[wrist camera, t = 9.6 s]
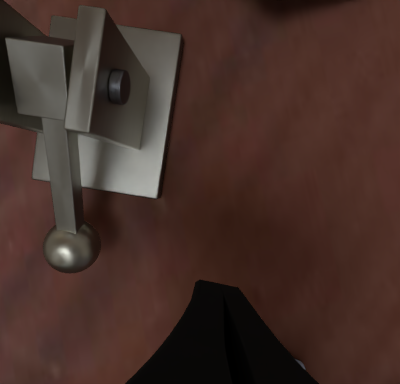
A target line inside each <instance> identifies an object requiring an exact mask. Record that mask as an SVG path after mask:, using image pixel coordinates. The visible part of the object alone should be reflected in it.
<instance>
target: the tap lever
mask: <svg viewBox="0 0 400 384" xmlns="http://www.w3.org/2000/svg"><path fill="white" fill-rule="evenodd" d="M5 42H6V48H7V54H8V60H9V66H10V71H11V77H12V83H13V89H14V95H15V100H16V106H17V112H18V114H23V115H29V116H36V117H41V118H42V125H43V133H44V140H45V147H46V155H47V162H48V170H49V177H50V185H51V192H52V199H53V207H54V214H55V222H56V225H54V226H53V227H52V228H51V229H50V230H49V232H48V233H47V235H46V237H45V239H44V242H43V254H44V257H45V259H46V261H47V262H48V264H49V265H50V266H51V267H52V268H54V269H55V270H57V271H59V272H63V273H77V272H81V271H83V270H85V269H87V268H88V267H90V266H91V265H92V264H93V263H94V262H95V261H96V259H97V258H98V255H99V253H100V249H101V239H100V236H99V233H98V232H97V230H96V229H95V228H94V227H93V226H92V225H91V224H90V223H88V222H86V221H84V211H83V198H82V185H81V173H80V160H79V147H78V134H77V133H74V132H70V131H67V130H65V129H64V128H63V126H64V118H65V111H66V103H67V95H68V87H69V79H70V72H71V64H72V56H73V48H74V40H69V39H62V38H55V37H48V36H23V37H6V38H5Z"/></svg>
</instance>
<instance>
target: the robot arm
mask: <svg viewBox="0 0 400 384" xmlns="http://www.w3.org/2000/svg"><path fill="white" fill-rule="evenodd" d="M125 384H319V383H318V382H317V381H316V380H315V379H314V378H313V377H312V376H311V375H310V374H309V373H308V372H307V371H306V370H305V366H304V364H303V363H302V362H301V361H299V360H296V359H294V357H293V356H292V355H291V354H290V353H289V352H288V351H287V349H286V348H285V347H284V346H283V345H282V344H281V343H280V341H279V340H278V339H277V338H276V336H275V335H274V334H273V333H272V332H271V330H270V329H269V328H268V327H267V325H266V324H265V323H264V321H263V320H262V319H261V317H260V316H259V315H258V313H257V312H256V311H255V309H254V308H253V307H252V305H251V304H250V303H249V301H248V300H247V298H246V297H245V296H244V294H243V293H242V292H241V290H240V289H239V288H238V287H233V286H228V285H224V284H219V283H214V282H209V281H204V280H199V281H197V282H196V283H195V287H194V291H193V295H192V299H191V301H190V303H189V305H188V307H187V308H186V310H185V312H184V314H183V316H182V317H181V319H180V320H179V322H178V323H177V325H176V326H175V328H174V329H173V331H172V332H171V333H170V335H169V336H168V337H167V339H166V340H165V341H164V343H163V344H162V345H161V346H160V348H159V349H158V350H157V351H156V352H155V353H154V355H153V356H152V357H151V358H150V359H149V360H148V361H147V362H146V363H145V364H144V365H143V366H142V367H141V368H140V369H139V370H138V372H137V373H136V374H135V375H134V376H133V377H132V378H130V379H129V380H128V381H127V382H126V383H125Z"/></svg>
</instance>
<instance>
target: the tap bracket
mask: <svg viewBox="0 0 400 384" xmlns="http://www.w3.org/2000/svg"><path fill="white" fill-rule="evenodd" d="M23 36H46V35H44V34H43V33H42V32H41V31H40V30H38V29H37V28H36V27H35V26H34V25H32V24H31V23H30V22H29V21H28V20H26V19H25V18H24V17H23V16H22V15H21V14H19V13H18V12H17V11H16V10H15V9H13V8H12V7H11V6H10V5H9V4H7V3H6V2H5V1H4V0H0V123H1V124H5V125H9V126H13V127H17V128H22V129H26V130H30V131H34V132H37V139H36V147H35V155H34V163H33V171H32V179H34V180H40V181H46V182H50V177H49V170H48V162H47V155H46V147H45V140H44V133H43V125H42V118H41V117H36V116H29V115H23V114H18V112H17V106H16V100H15V95H14V89H13V83H12V77H11V71H10V66H9V60H8V54H7V48H6V42H5V38H6V37H23ZM49 37H55V38H62V39H69V40H74V48H73V56H72V64H71V72H70V79H69V87H68V95H67V103H66V111H65V118H64V126H63V128H64V129H65V130H67V131H70V132H74V133H77V134H78V147H79V160H80V173H81V185H82V187H83V188H89V189H96V190H102V191H108V192H114V193H120V194H126V195H133V196H139V197H145V198H151V199H158V198H160V197H161V191H162V184H163V178H164V171H165V164H166V158H167V151H168V144H169V138H170V131H171V124H172V118H173V111H174V104H175V98H176V91H177V84H178V78H179V71H180V64H181V58H182V51H183V44H184V42H183V38H182V34H177V33H170V32H163V31H156V30H149V29H142V28H136V27H129V26H122V25H116V24H115V23H114V21H113V20H112V18H111V17H110V15H109V13H108V12H107V10H106V9H103V8H96V7H89V6H82V5H80V6H79V9H78V17H77V19H73V18H66V17H59V16H51V24H50V33H49Z"/></svg>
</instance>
